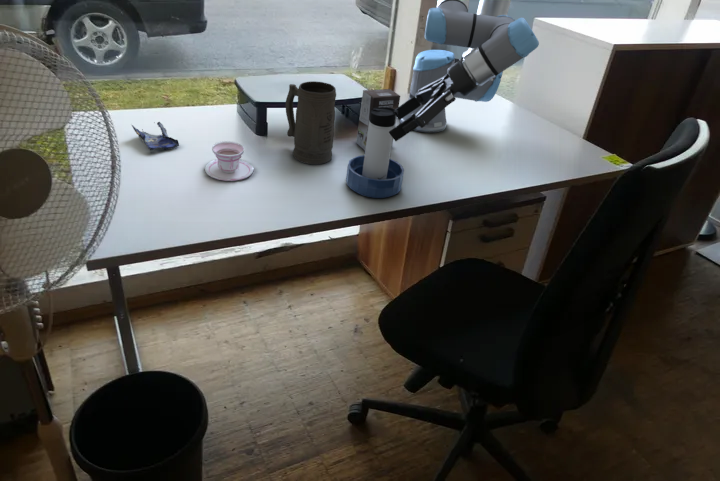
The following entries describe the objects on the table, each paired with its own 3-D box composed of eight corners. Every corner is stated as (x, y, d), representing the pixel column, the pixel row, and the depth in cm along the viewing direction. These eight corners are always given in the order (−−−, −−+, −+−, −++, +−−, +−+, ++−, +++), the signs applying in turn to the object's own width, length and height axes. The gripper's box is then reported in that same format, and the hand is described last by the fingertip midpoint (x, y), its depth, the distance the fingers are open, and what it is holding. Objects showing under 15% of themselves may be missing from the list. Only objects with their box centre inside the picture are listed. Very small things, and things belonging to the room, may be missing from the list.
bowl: (334, 182, 144) (336, 163, 141) (371, 168, 153) (374, 150, 150) (375, 205, 137) (378, 186, 134) (411, 189, 146) (415, 170, 143)
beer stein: (341, 155, 158) (343, 84, 148) (323, 169, 150) (324, 94, 139) (293, 144, 163) (292, 74, 153) (273, 156, 155) (271, 84, 144)
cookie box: (365, 151, 162) (372, 97, 153) (355, 142, 167) (361, 89, 158) (392, 148, 166) (401, 95, 157) (382, 139, 171) (389, 87, 162)
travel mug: (384, 191, 142) (396, 116, 131) (359, 186, 142) (368, 110, 131) (388, 180, 147) (400, 107, 136) (363, 175, 147) (373, 102, 136)
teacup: (201, 161, 145) (200, 139, 142) (247, 158, 150) (247, 137, 146) (209, 183, 136) (208, 160, 133) (258, 179, 141) (258, 157, 137)
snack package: (177, 134, 157) (132, 134, 153) (176, 114, 153) (130, 113, 149) (180, 160, 149) (132, 160, 145) (179, 139, 145) (130, 139, 141)
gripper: (482, 105, 118) (400, 159, 127) (476, 70, 139) (406, 119, 147) (462, 76, 115) (380, 133, 124) (459, 45, 136) (389, 96, 145)
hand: (394, 125), depth 136 cm, fingers open, 13 cm apart
